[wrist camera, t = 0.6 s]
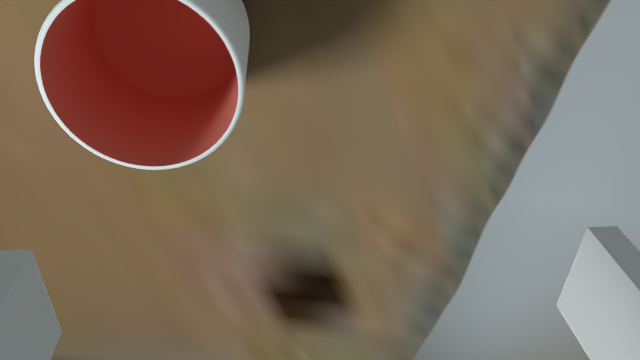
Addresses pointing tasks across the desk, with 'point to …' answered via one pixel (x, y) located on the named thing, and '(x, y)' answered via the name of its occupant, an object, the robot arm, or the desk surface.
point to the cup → (145, 76)
